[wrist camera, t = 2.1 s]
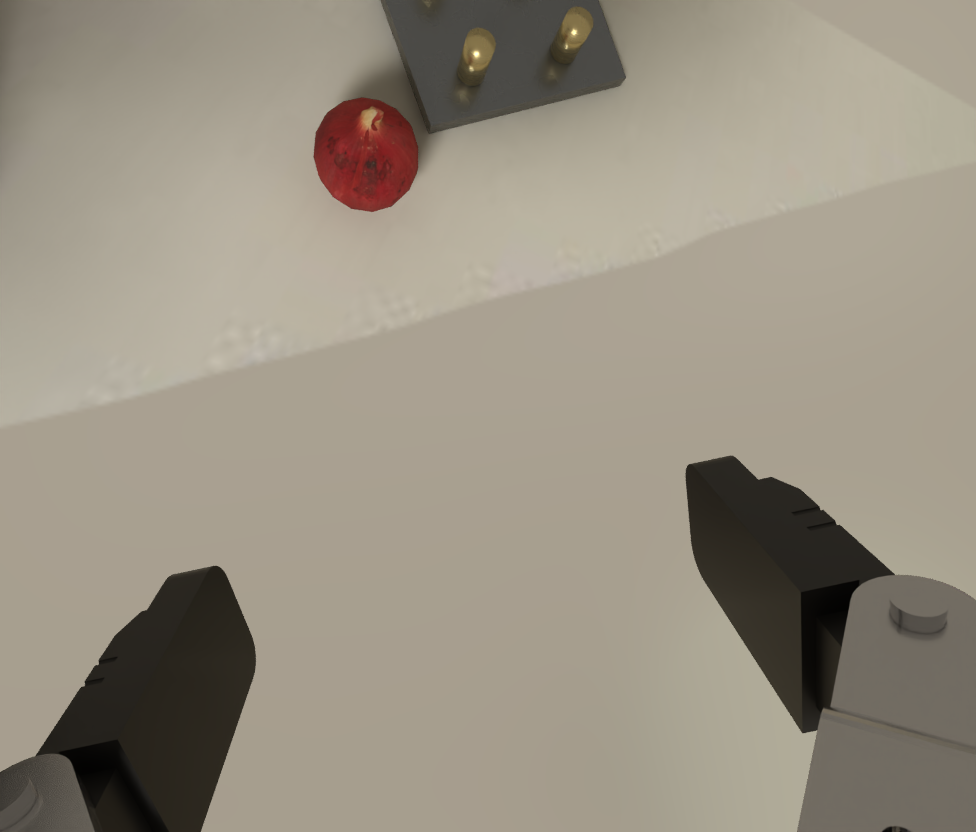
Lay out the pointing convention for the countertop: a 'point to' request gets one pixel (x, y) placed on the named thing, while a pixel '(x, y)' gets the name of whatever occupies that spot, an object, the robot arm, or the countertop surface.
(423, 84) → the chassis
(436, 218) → the countertop surface
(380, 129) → the onion
